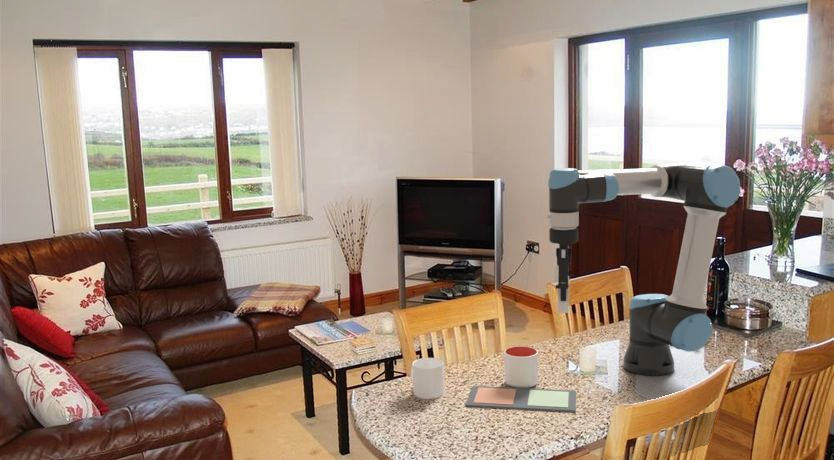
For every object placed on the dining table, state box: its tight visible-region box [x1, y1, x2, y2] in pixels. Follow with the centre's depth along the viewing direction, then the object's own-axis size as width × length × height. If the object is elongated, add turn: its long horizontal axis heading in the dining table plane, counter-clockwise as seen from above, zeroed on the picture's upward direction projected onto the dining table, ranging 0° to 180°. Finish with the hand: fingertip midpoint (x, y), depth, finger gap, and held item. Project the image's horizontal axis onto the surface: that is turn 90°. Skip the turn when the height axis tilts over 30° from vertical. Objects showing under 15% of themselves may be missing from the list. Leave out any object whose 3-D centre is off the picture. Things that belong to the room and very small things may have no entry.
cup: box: [503, 345, 539, 388], centre depth 218 cm, size 10×10×10 cm
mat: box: [465, 385, 577, 413], centre depth 207 cm, size 30×14×1 cm, turn 77°
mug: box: [410, 357, 445, 400], centre depth 214 cm, size 12×9×9 cm
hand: (563, 305), depth 196 cm, fingers open, 13 cm apart
